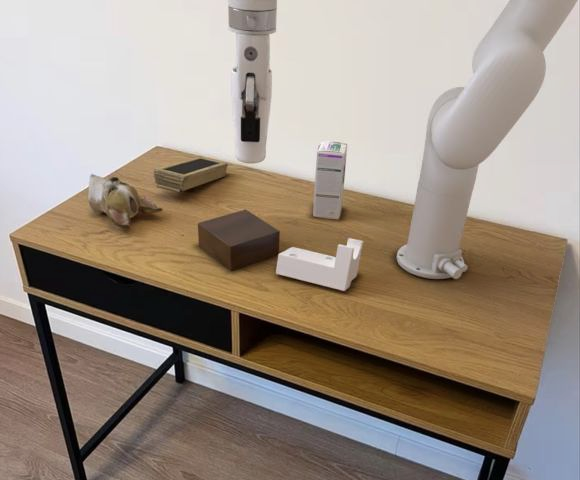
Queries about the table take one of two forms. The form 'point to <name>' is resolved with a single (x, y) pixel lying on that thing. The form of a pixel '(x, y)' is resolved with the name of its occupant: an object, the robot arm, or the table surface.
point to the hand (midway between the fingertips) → (251, 133)
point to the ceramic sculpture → (117, 200)
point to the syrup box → (329, 179)
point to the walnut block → (238, 239)
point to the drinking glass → (257, 150)
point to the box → (189, 173)
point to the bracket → (322, 265)
